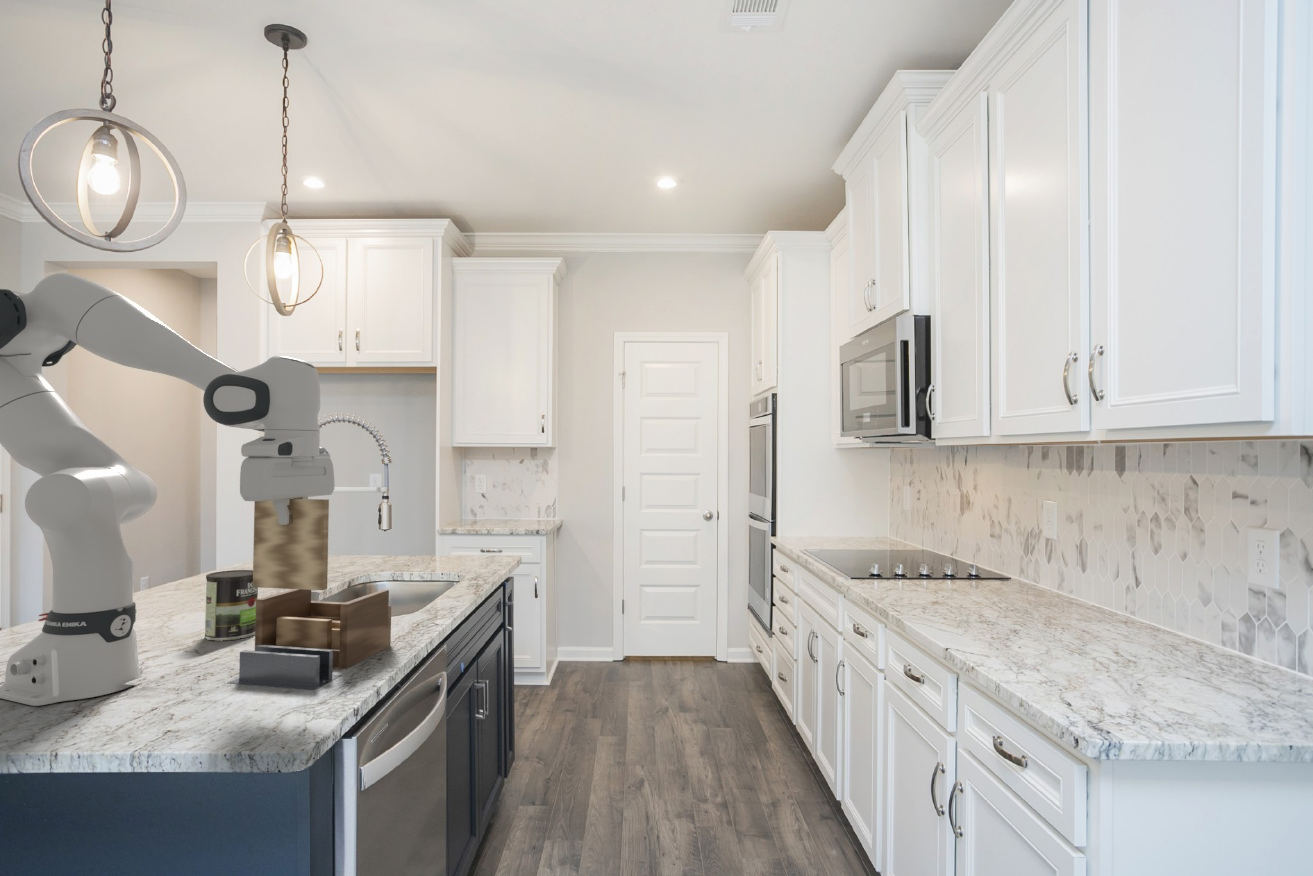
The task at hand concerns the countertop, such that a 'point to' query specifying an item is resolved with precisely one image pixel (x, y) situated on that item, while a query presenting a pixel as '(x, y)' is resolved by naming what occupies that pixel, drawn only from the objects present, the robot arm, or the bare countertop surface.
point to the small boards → (308, 632)
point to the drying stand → (286, 667)
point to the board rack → (359, 619)
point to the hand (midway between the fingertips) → (290, 523)
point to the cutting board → (291, 546)
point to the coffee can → (230, 605)
